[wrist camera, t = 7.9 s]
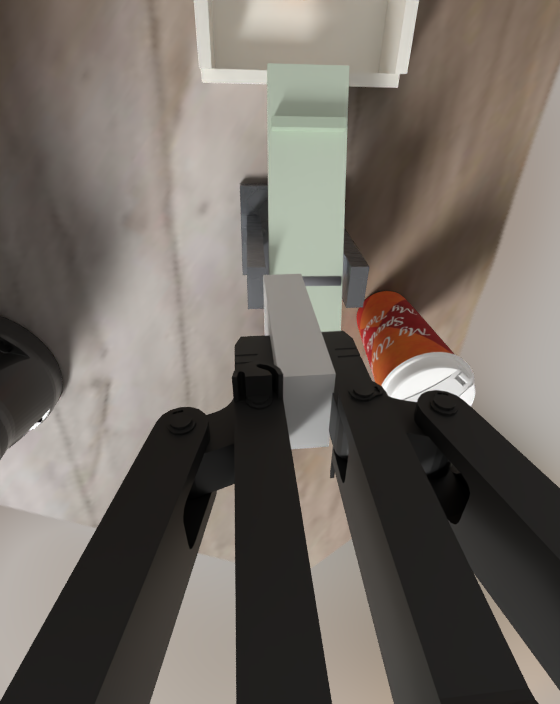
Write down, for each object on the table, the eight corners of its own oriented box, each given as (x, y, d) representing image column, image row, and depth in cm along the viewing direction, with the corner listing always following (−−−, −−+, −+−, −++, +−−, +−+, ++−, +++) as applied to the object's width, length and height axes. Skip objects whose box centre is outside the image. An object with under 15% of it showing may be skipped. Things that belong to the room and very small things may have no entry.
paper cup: (387, 266, 40) (444, 344, 29) (432, 310, 43) (500, 396, 32) (330, 319, 43) (361, 409, 32) (377, 357, 46) (420, 451, 35)
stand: (242, 271, 39) (241, 339, 29) (240, 183, 35) (237, 228, 25) (335, 270, 40) (365, 337, 30) (344, 184, 35) (383, 228, 25)
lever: (266, 367, 36) (271, 397, 29) (263, 104, 31) (268, 56, 24) (322, 366, 37) (341, 395, 29) (327, 106, 32) (352, 59, 24)
